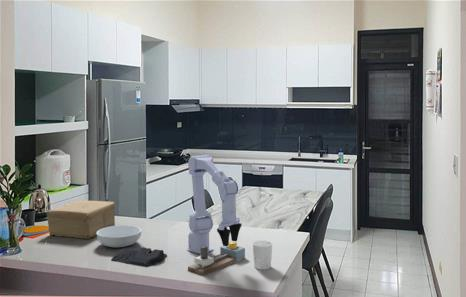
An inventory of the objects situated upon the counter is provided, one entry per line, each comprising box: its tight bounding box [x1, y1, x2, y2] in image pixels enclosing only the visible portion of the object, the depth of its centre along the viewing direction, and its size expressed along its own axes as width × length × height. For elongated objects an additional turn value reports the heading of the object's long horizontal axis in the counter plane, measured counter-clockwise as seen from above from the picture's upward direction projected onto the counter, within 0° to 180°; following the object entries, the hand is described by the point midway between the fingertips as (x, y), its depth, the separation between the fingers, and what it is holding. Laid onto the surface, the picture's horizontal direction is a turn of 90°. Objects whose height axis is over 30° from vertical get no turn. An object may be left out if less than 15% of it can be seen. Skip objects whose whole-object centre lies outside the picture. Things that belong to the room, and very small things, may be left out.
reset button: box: [228, 241, 238, 250], centre depth 206 cm, size 4×4×4 cm
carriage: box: [194, 246, 214, 267], centre depth 192 cm, size 6×5×8 cm
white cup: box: [252, 240, 273, 271], centre depth 194 cm, size 8×8×10 cm
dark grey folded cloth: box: [110, 246, 168, 268], centre depth 206 cm, size 15×22×5 cm
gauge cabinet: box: [219, 245, 246, 262], centre depth 206 cm, size 9×6×4 cm, turn 50°
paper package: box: [46, 199, 116, 240], centre depth 249 cm, size 27×26×14 cm
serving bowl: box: [96, 224, 142, 249], centre depth 226 cm, size 21×21×7 cm
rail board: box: [187, 253, 236, 276], centre depth 197 cm, size 9×20×2 cm, turn 140°
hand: (230, 243), depth 193 cm, fingers open, 7 cm apart
